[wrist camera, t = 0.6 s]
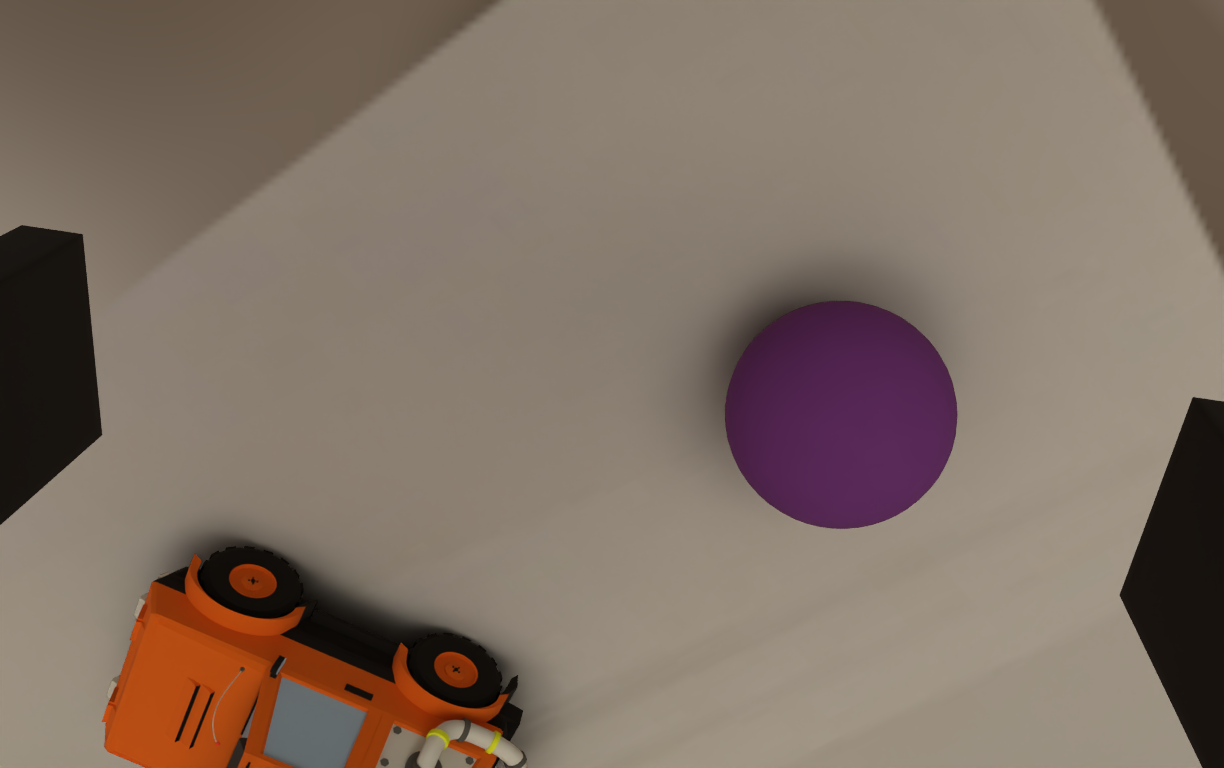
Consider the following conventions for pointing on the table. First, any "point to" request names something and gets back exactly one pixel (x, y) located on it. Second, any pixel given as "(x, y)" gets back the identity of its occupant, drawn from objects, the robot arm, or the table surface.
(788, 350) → the ball
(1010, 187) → the table surface
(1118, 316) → the table surface
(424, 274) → the table surface
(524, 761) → the toy car
